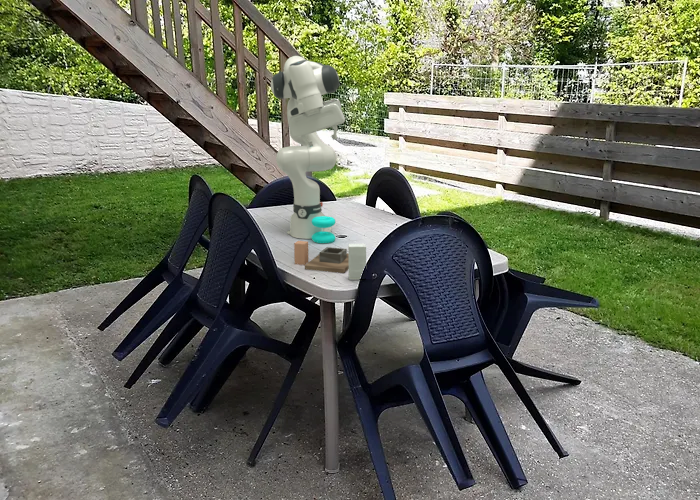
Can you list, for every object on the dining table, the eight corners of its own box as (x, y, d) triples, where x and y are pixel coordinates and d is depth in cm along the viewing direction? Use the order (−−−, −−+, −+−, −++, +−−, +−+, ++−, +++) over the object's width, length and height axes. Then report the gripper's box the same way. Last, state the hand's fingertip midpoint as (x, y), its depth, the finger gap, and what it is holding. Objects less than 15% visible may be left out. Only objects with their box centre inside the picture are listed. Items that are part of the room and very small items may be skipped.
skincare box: (365, 276, 224) (365, 243, 221) (366, 280, 220) (366, 246, 217) (348, 276, 224) (348, 243, 220) (348, 280, 220) (348, 246, 216)
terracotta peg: (298, 261, 241) (298, 240, 239) (308, 262, 240) (308, 241, 238) (294, 264, 238) (294, 243, 236) (304, 265, 237) (304, 244, 234)
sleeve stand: (323, 254, 250) (323, 242, 248) (360, 258, 246) (360, 245, 244) (304, 269, 231) (304, 256, 230) (344, 273, 227) (344, 259, 226)
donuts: (314, 215, 273) (337, 216, 271) (315, 237, 276) (337, 238, 274) (308, 220, 264) (332, 221, 262) (309, 243, 266) (332, 244, 265)
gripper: (340, 96, 229) (351, 134, 231) (288, 114, 234) (299, 150, 236) (336, 96, 223) (348, 134, 225) (283, 114, 228) (295, 151, 230)
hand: (323, 143), depth 231 cm, fingers open, 8 cm apart
